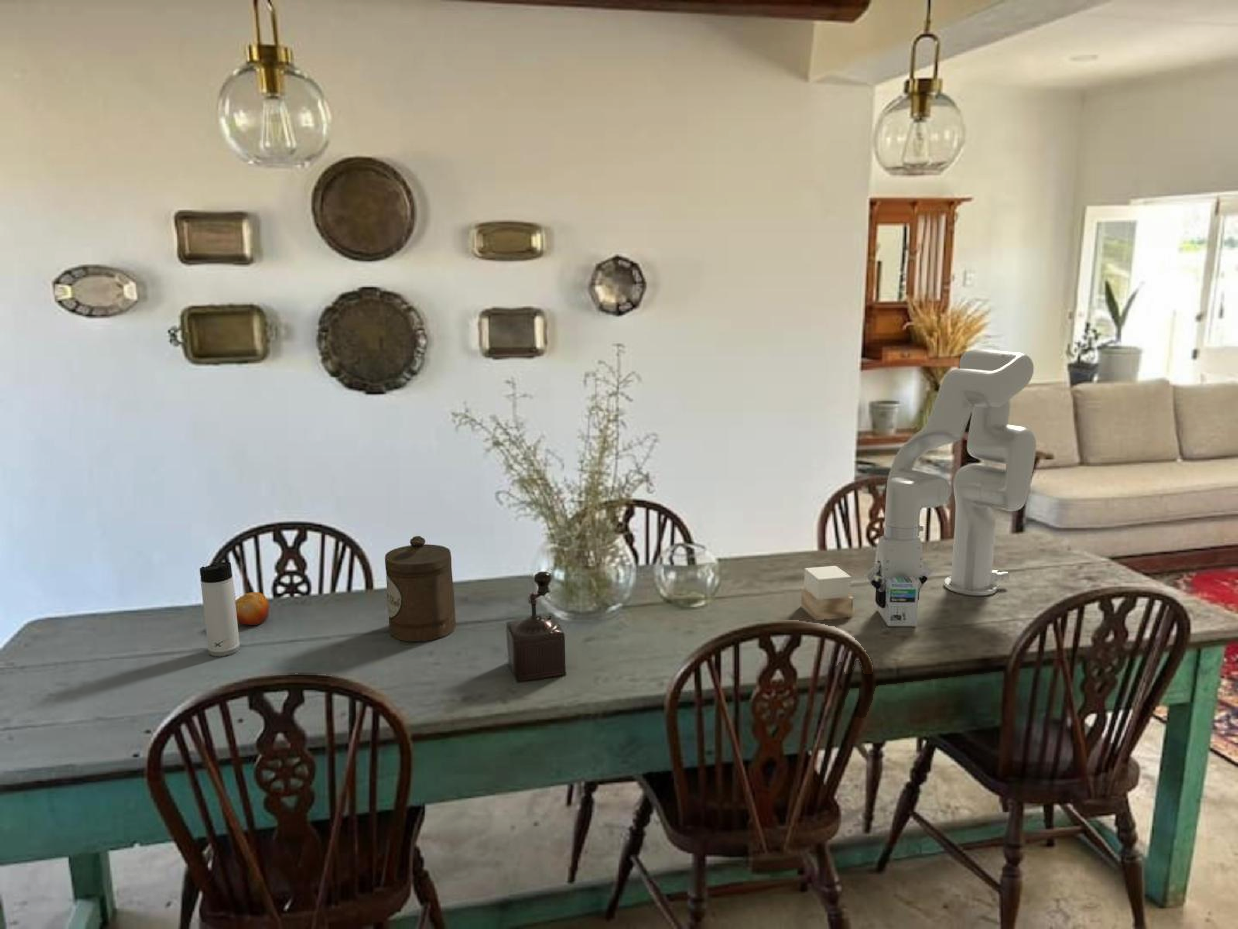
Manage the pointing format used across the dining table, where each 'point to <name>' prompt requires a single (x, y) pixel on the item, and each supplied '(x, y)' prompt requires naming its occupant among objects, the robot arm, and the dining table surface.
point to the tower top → (827, 582)
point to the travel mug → (219, 609)
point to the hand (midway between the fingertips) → (896, 604)
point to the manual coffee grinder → (536, 641)
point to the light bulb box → (900, 602)
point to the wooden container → (420, 591)
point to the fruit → (252, 608)
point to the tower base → (826, 606)
